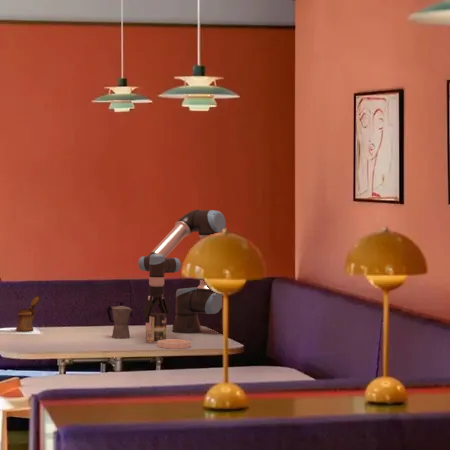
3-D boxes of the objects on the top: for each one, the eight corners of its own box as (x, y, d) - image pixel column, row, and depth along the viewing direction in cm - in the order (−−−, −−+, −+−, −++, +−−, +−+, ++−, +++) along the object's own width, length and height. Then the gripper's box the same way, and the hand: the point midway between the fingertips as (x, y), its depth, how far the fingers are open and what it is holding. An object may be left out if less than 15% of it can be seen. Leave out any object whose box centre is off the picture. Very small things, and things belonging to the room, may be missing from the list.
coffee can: (168, 340, 601) (168, 312, 600) (163, 343, 591) (163, 314, 590) (148, 339, 603) (148, 311, 602) (143, 342, 593) (143, 314, 592)
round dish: (168, 343, 592) (168, 338, 592) (196, 345, 584) (196, 340, 584) (151, 346, 578) (151, 341, 578) (179, 349, 570) (179, 344, 570)
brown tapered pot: (43, 330, 636) (44, 296, 635) (22, 332, 626) (22, 297, 626) (34, 328, 642) (34, 294, 641) (12, 330, 633) (12, 296, 632)
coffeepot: (136, 337, 611) (137, 302, 611) (126, 339, 603) (127, 303, 602) (111, 335, 619) (112, 300, 618) (101, 337, 611) (101, 301, 610)
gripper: (163, 283, 608) (162, 325, 609) (136, 286, 587) (135, 329, 587) (176, 284, 605) (175, 326, 605) (149, 287, 583) (148, 331, 584)
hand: (155, 328), depth 596 cm, fingers open, 13 cm apart
